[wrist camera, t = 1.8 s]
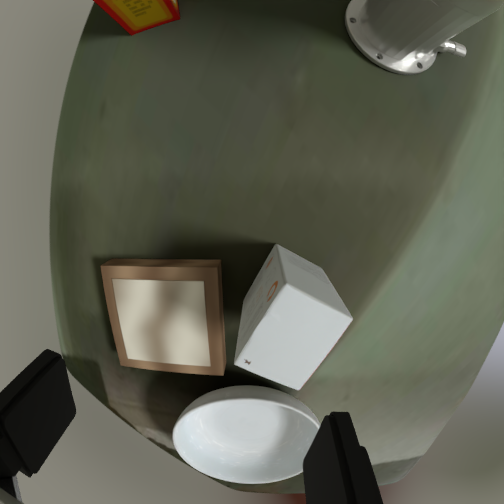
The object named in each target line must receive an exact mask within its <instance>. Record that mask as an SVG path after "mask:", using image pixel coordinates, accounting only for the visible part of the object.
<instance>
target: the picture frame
mask: <svg viewBox="0 0 504 504" xmlns="http://www.w3.org/2000/svg"><path fill="white" fill-rule="evenodd" d="M101 273H102V279H103V285H104V291H105V297H106V302H107V307H108V312H109V317H110V322H111V327H112V331H113V335H114V340H115V344H116V348H117V352H118V356H119V360H120V363H121V366H128V367H135V368H142V369H150V370H159V371H168V372H178V373H190V374H204V375H221V376H224V371H225V366H226V350H225V333H224V314H223V293H222V269H221V260H193V259H111V260H109V261H107V262H106V263H104V264H102V265H101Z"/></svg>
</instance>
